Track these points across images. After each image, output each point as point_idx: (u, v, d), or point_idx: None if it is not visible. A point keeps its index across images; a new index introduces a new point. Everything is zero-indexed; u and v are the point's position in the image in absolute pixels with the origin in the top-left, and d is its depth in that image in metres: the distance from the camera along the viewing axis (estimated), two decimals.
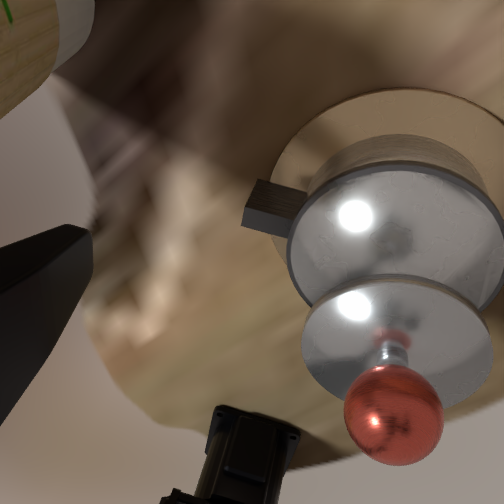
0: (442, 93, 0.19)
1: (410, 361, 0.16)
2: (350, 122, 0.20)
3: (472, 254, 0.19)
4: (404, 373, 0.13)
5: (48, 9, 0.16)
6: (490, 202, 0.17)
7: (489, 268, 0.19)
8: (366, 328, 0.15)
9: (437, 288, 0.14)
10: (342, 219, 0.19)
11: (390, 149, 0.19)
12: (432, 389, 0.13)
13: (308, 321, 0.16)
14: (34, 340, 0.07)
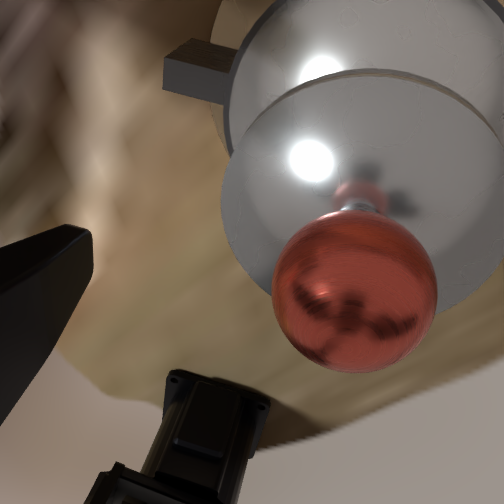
0: None
1: None
2: None
3: (480, 106, 0.13)
4: (369, 214, 0.08)
5: None
6: None
7: None
8: (316, 172, 0.10)
9: (427, 83, 0.08)
10: (295, 62, 0.13)
11: None
12: (417, 241, 0.08)
13: (227, 168, 0.10)
14: (34, 340, 0.07)
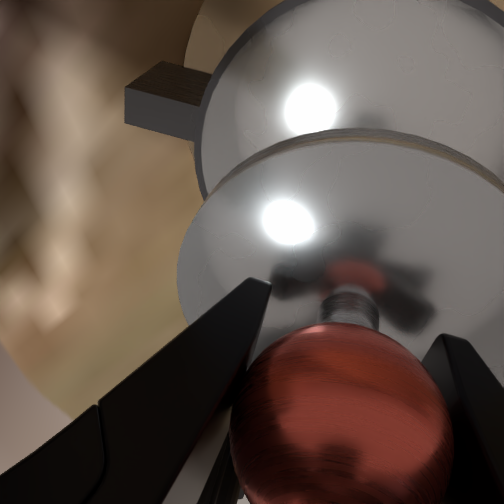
0: None
1: (384, 324, 0.08)
2: None
3: (497, 150, 0.11)
4: (360, 338, 0.06)
5: None
6: None
7: None
8: (294, 255, 0.07)
9: (438, 151, 0.06)
10: (277, 96, 0.11)
11: None
12: (426, 376, 0.06)
13: (182, 245, 0.08)
14: None
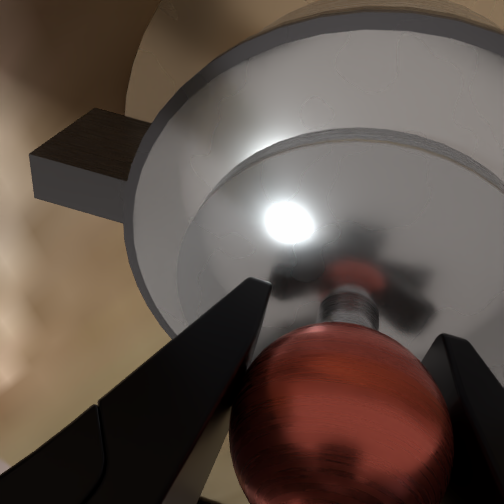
0: None
1: (384, 324, 0.08)
2: None
3: None
4: (360, 338, 0.06)
5: None
6: None
7: None
8: (294, 254, 0.07)
9: (438, 151, 0.06)
10: None
11: (345, 7, 0.08)
12: (426, 376, 0.06)
13: (182, 245, 0.08)
14: None
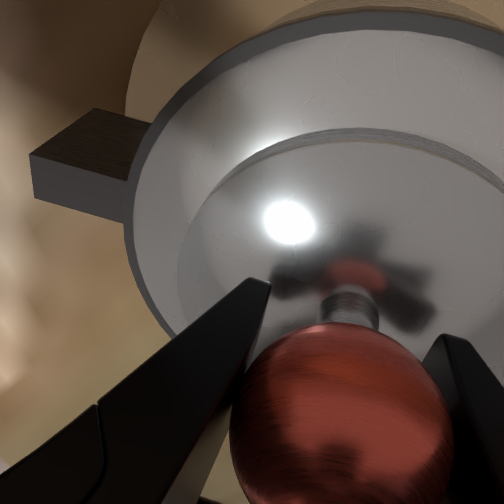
0: None
1: (384, 324, 0.08)
2: None
3: None
4: (360, 338, 0.06)
5: None
6: None
7: None
8: (294, 254, 0.07)
9: (438, 151, 0.06)
10: None
11: (345, 7, 0.08)
12: (426, 376, 0.06)
13: (182, 245, 0.08)
14: None
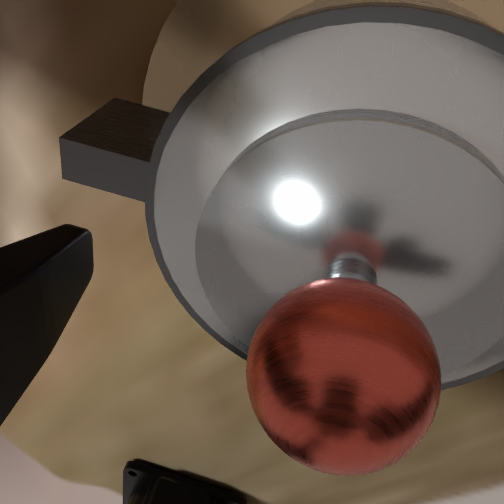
0: None
1: (381, 287, 0.09)
2: None
3: None
4: (360, 287, 0.07)
5: None
6: None
7: None
8: (301, 223, 0.08)
9: (428, 128, 0.07)
10: None
11: (346, 4, 0.09)
12: (417, 319, 0.07)
13: (201, 216, 0.09)
14: (34, 340, 0.07)
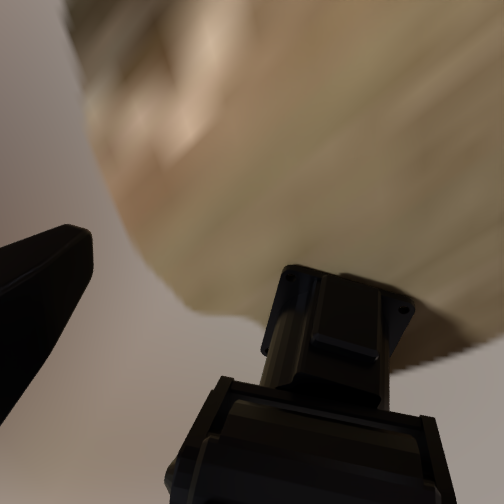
0: None
1: None
2: None
3: None
4: None
5: None
6: None
7: None
8: None
9: None
10: None
11: None
12: None
13: None
14: (34, 340, 0.07)
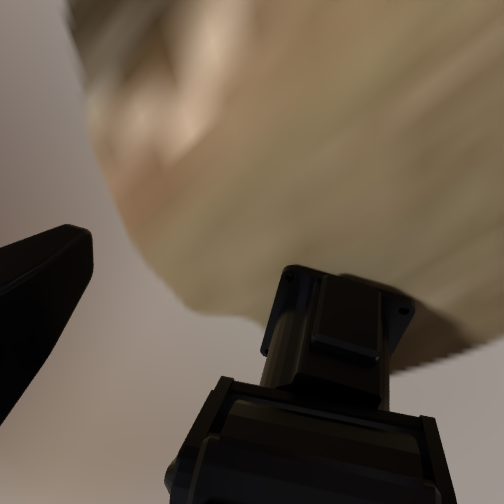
0: None
1: None
2: None
3: None
4: None
5: None
6: None
7: None
8: None
9: None
10: None
11: None
12: None
13: None
14: (34, 340, 0.07)
